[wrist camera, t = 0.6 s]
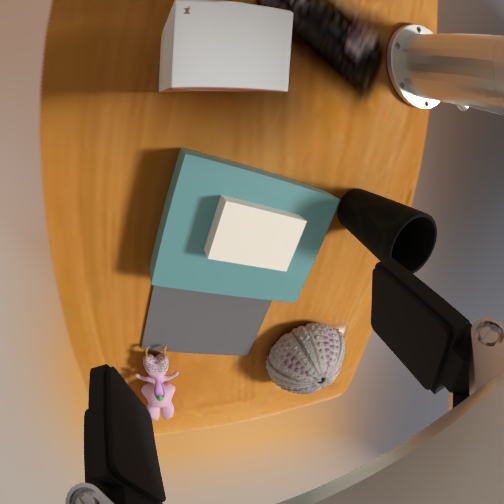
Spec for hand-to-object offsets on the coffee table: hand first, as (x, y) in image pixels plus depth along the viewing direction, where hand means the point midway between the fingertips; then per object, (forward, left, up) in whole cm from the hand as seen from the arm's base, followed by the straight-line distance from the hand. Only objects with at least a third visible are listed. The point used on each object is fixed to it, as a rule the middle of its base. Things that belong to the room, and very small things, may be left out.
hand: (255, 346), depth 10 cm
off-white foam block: (-9, +4, -22) cm, 24 cm away
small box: (+1, -11, -27) cm, 29 cm away
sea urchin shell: (-26, +23, -27) cm, 44 cm away
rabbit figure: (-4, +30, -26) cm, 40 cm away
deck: (-9, +5, -26) cm, 28 cm away
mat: (-9, +18, -26) cm, 33 cm away
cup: (-24, -1, -27) cm, 36 cm away
